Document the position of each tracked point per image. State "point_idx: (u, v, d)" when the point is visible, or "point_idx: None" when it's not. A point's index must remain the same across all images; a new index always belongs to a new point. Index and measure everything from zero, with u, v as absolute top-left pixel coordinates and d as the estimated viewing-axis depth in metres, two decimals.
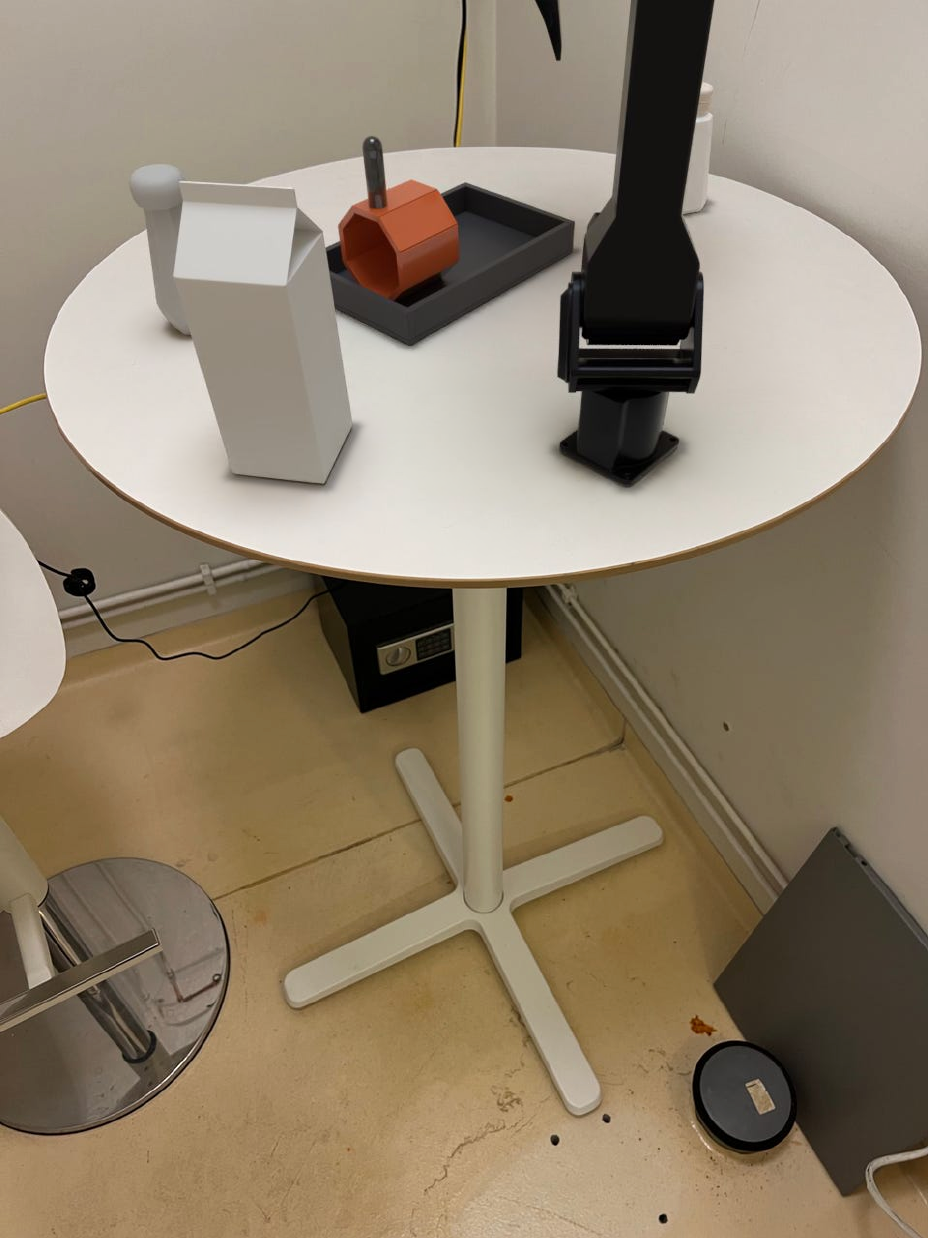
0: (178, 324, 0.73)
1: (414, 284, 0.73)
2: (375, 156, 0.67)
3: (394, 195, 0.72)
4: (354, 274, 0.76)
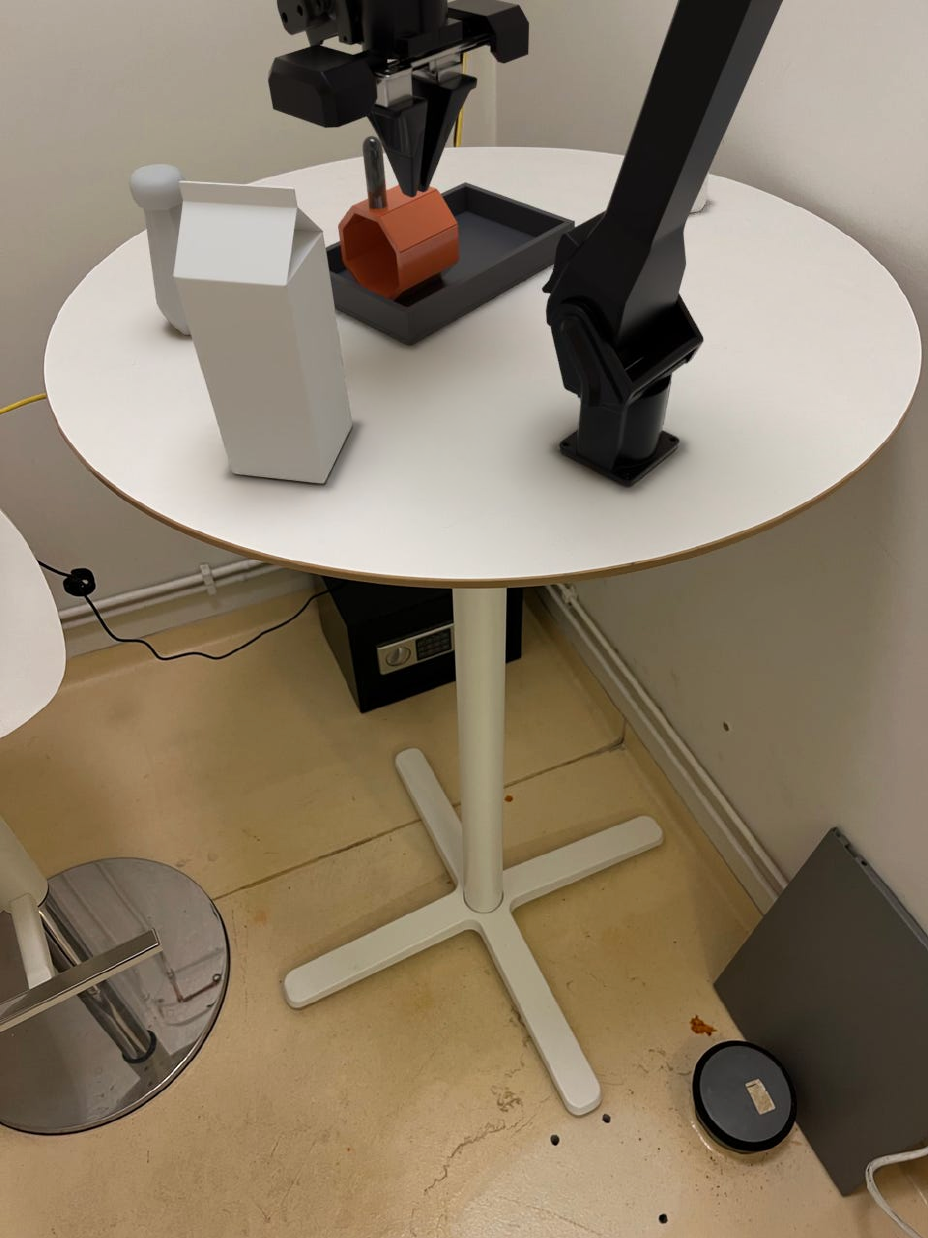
0: (178, 324, 0.73)
1: (414, 284, 0.73)
2: (375, 156, 0.67)
3: (394, 195, 0.72)
4: (354, 274, 0.76)
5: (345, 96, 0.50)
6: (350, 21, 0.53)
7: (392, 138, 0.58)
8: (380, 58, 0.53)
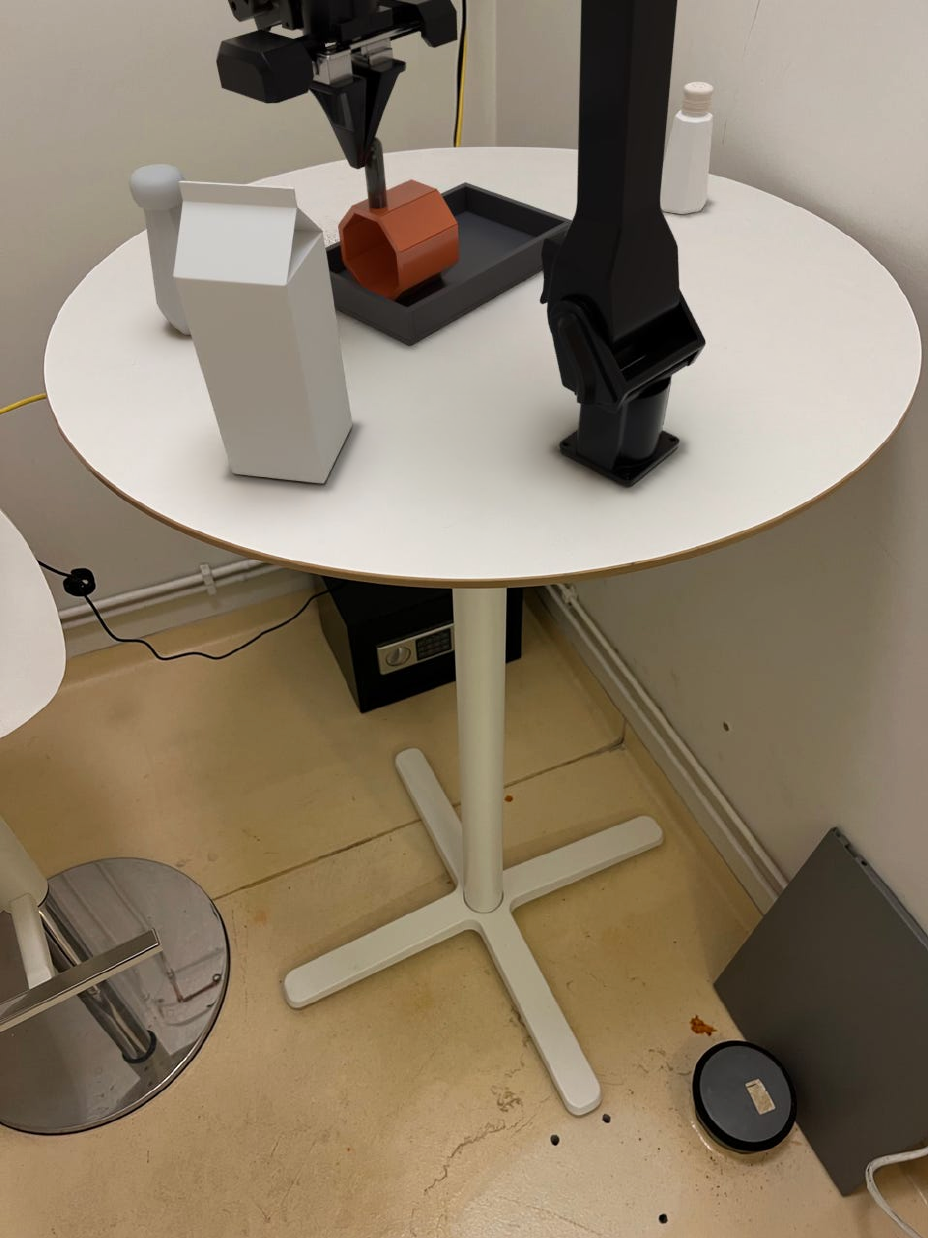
0: (178, 324, 0.73)
1: (414, 284, 0.73)
2: (375, 156, 0.67)
3: (394, 195, 0.72)
4: (354, 274, 0.76)
5: (284, 75, 0.56)
6: (291, 9, 0.59)
7: (337, 114, 0.64)
8: (318, 42, 0.59)
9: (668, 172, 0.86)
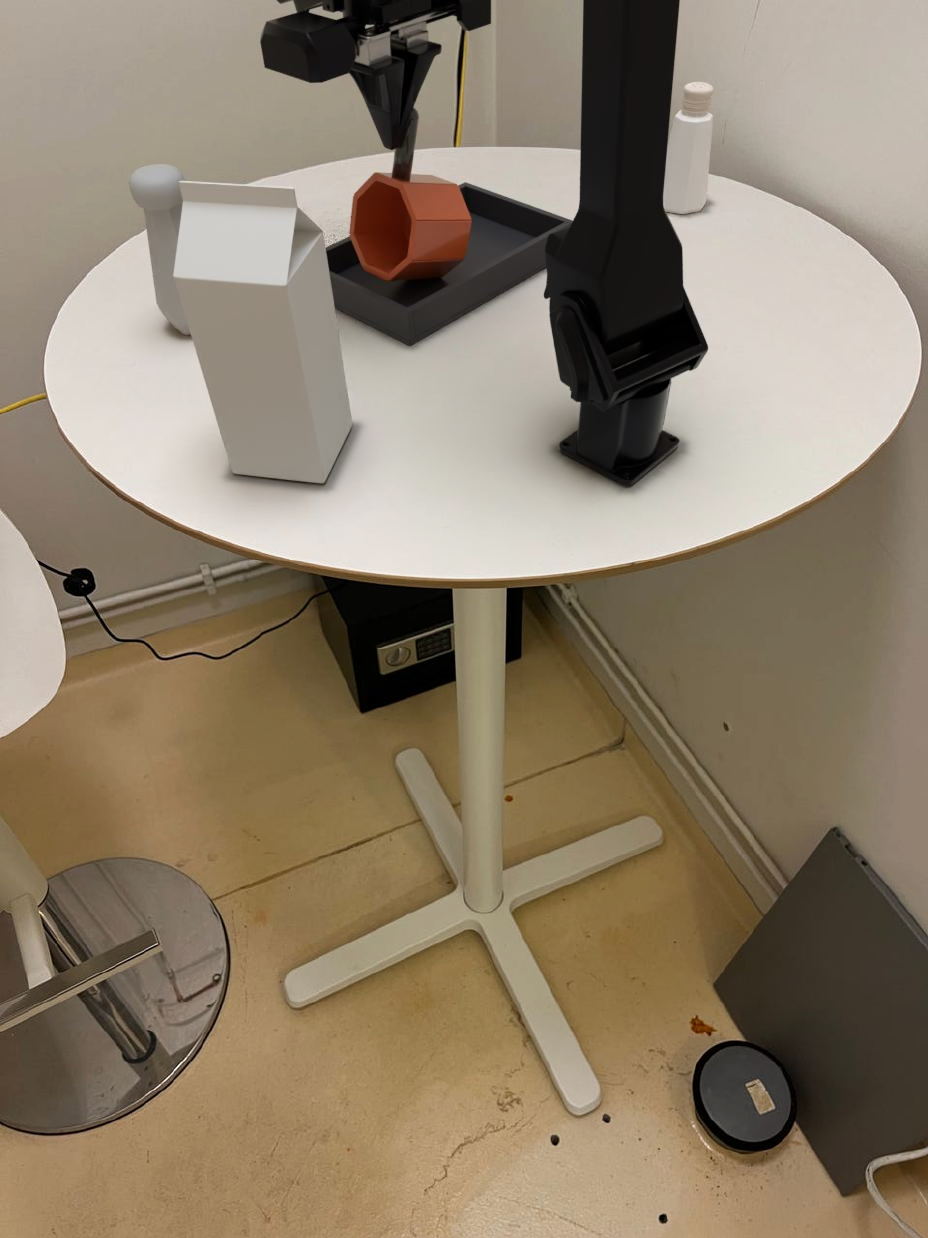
0: (178, 324, 0.73)
1: (421, 261, 0.73)
2: (411, 124, 0.68)
3: (416, 177, 0.73)
4: (359, 247, 0.75)
5: (327, 55, 0.57)
6: None
7: (374, 95, 0.65)
8: (358, 23, 0.61)
9: (668, 172, 0.86)
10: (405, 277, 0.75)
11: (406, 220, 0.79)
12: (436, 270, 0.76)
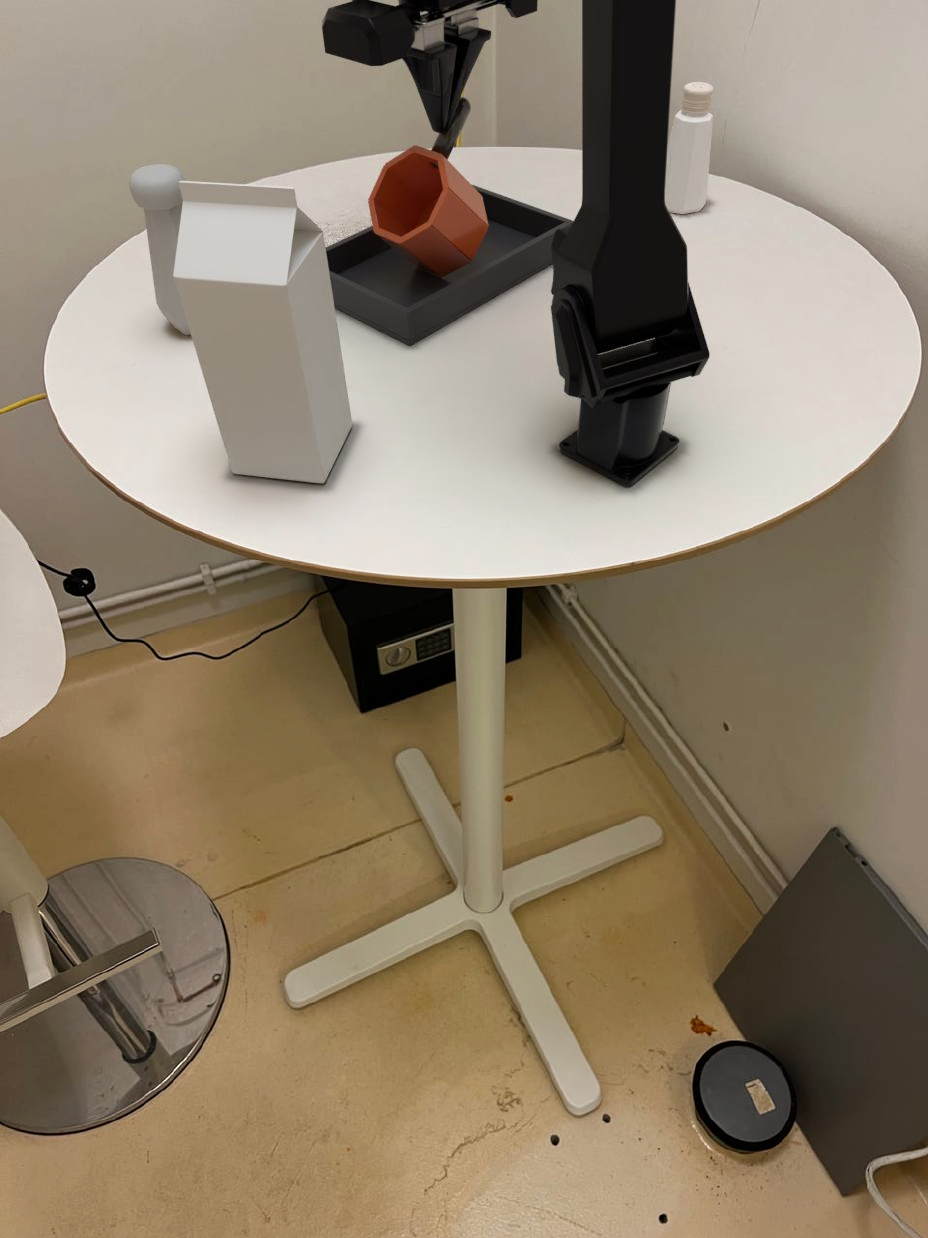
0: (178, 324, 0.73)
1: (438, 233, 0.72)
2: (462, 111, 0.72)
3: None
4: (375, 212, 0.74)
5: (388, 39, 0.60)
6: None
7: (425, 80, 0.68)
8: (414, 10, 0.63)
9: (668, 172, 0.86)
10: (415, 249, 0.74)
11: (418, 221, 0.80)
12: (443, 260, 0.76)
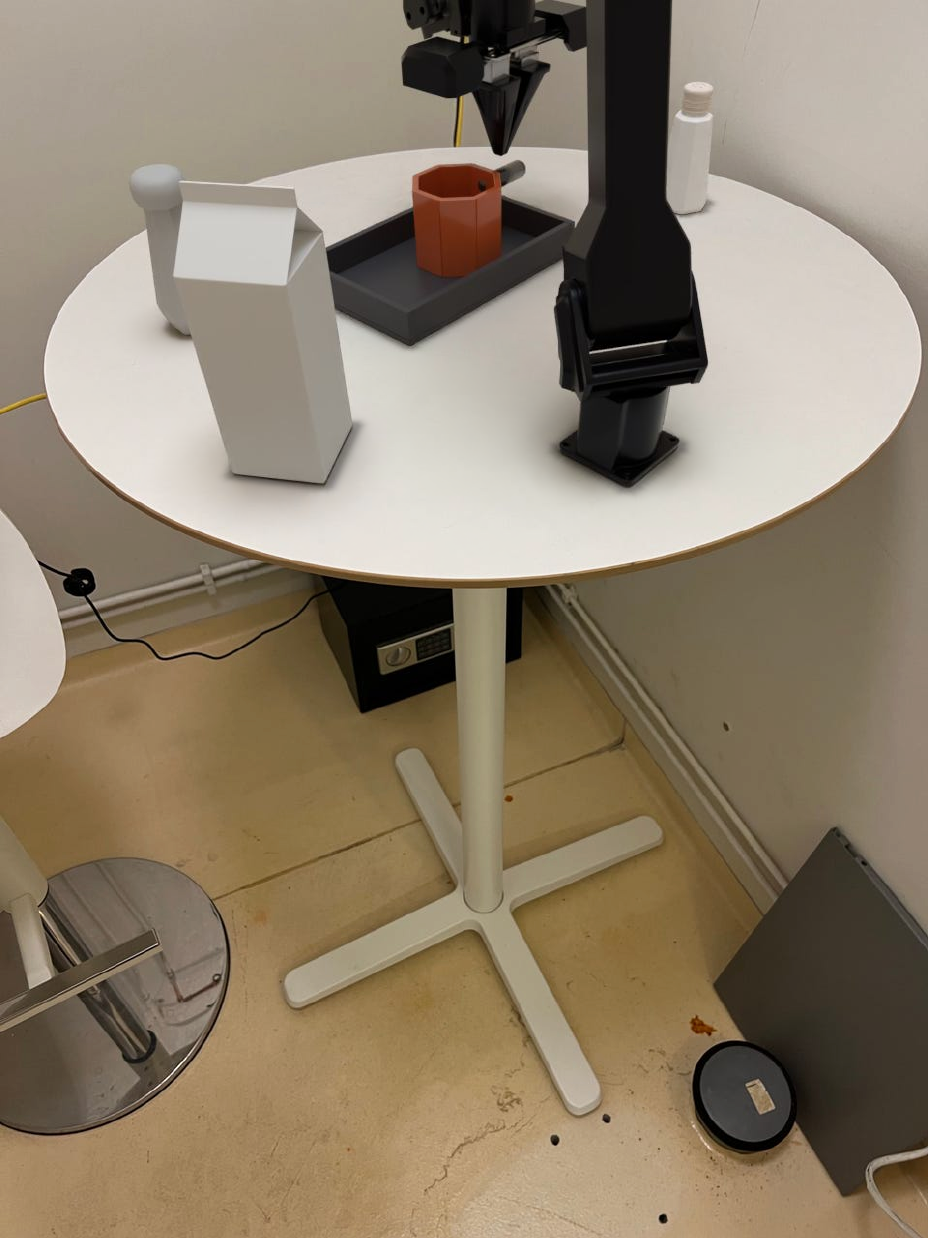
0: (178, 324, 0.73)
1: (475, 214, 0.74)
2: (519, 168, 0.80)
3: None
4: (418, 182, 0.76)
5: (463, 74, 0.67)
6: (461, 19, 0.70)
7: (489, 108, 0.75)
8: (484, 47, 0.70)
9: (668, 172, 0.86)
10: (446, 218, 0.75)
11: None
12: (457, 253, 0.77)
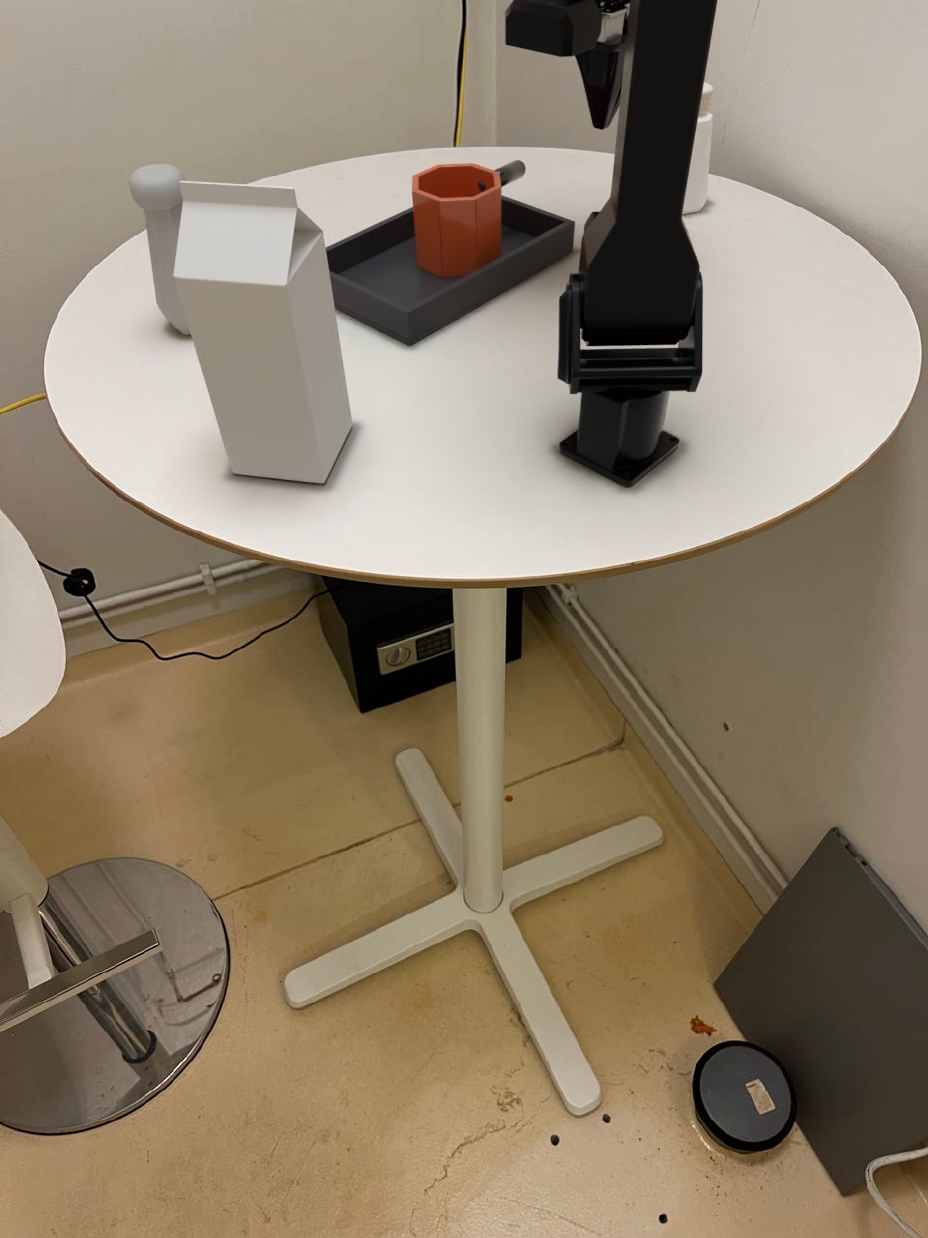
0: (178, 324, 0.73)
1: (475, 214, 0.74)
2: (519, 168, 0.80)
3: None
4: (418, 182, 0.76)
5: (580, 29, 0.58)
6: None
7: (594, 74, 0.66)
8: (596, 1, 0.61)
9: None
10: (446, 218, 0.75)
11: None
12: (457, 253, 0.77)
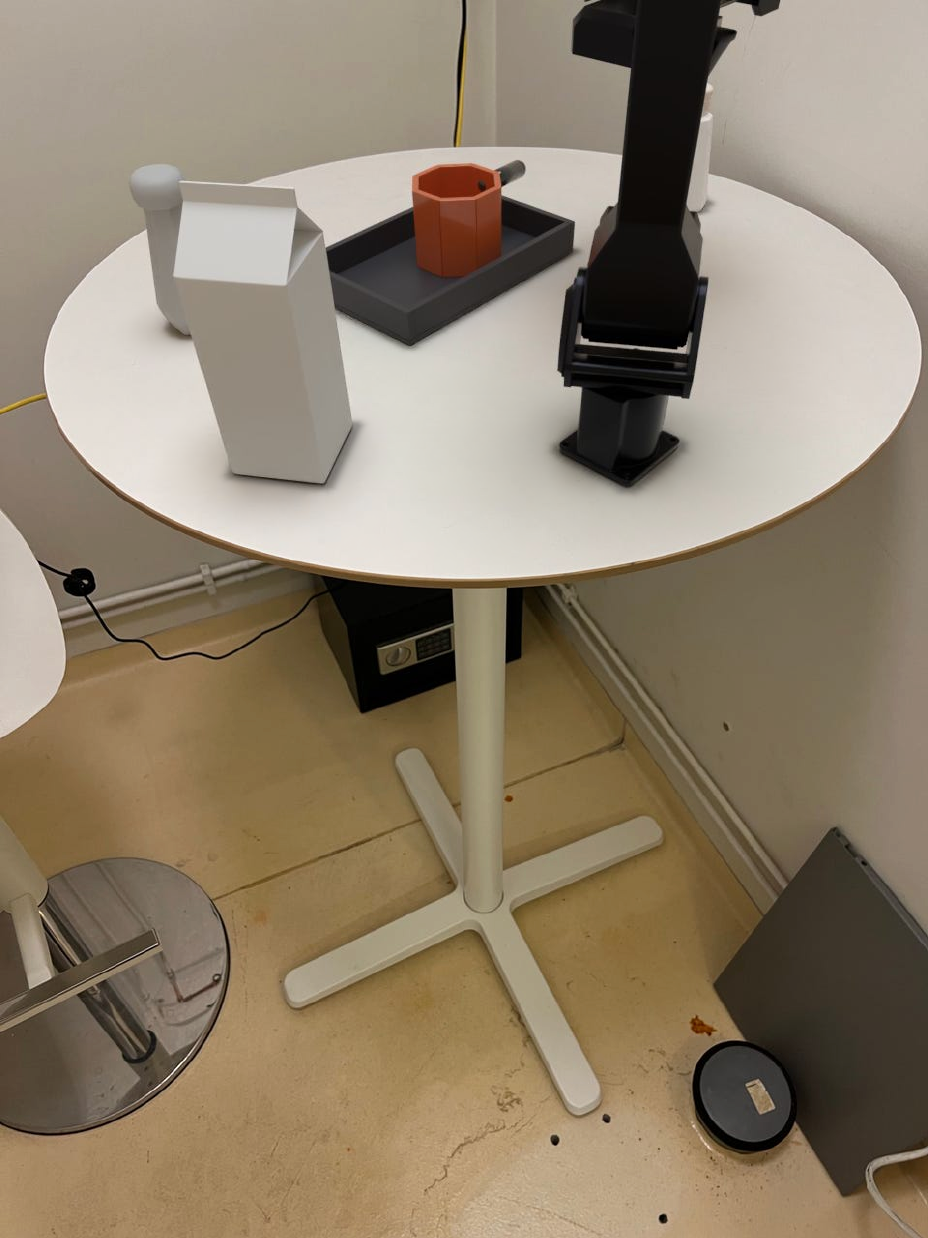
0: (178, 324, 0.73)
1: (475, 214, 0.74)
2: (519, 168, 0.80)
3: None
4: (418, 182, 0.76)
5: None
6: None
7: None
8: None
9: None
10: (446, 218, 0.75)
11: None
12: (457, 253, 0.77)
